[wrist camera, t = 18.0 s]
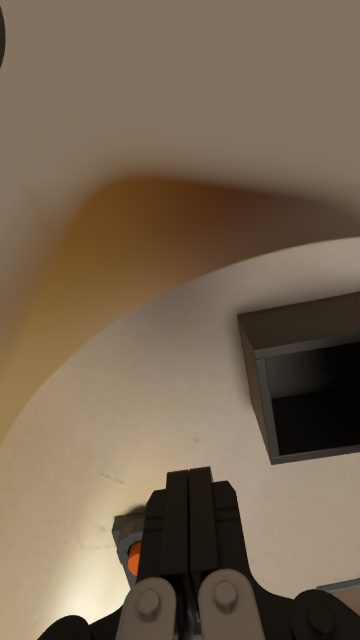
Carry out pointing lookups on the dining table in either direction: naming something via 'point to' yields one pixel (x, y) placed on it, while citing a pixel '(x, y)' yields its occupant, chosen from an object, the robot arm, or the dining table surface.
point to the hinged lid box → (305, 377)
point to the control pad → (129, 542)
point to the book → (346, 593)
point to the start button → (134, 557)
